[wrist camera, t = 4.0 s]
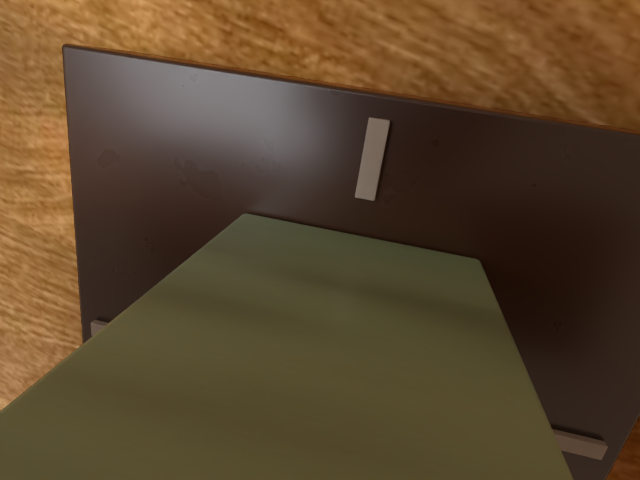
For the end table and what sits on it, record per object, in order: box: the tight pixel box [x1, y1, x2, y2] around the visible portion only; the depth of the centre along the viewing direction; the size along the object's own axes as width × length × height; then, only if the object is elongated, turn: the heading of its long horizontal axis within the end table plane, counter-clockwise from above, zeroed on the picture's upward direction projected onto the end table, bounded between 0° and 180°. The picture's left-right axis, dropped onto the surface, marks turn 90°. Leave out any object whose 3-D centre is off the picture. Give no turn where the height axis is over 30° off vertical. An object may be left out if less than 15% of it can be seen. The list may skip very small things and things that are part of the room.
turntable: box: [62, 44, 640, 480], centre depth 10 cm, size 12×12×2 cm
